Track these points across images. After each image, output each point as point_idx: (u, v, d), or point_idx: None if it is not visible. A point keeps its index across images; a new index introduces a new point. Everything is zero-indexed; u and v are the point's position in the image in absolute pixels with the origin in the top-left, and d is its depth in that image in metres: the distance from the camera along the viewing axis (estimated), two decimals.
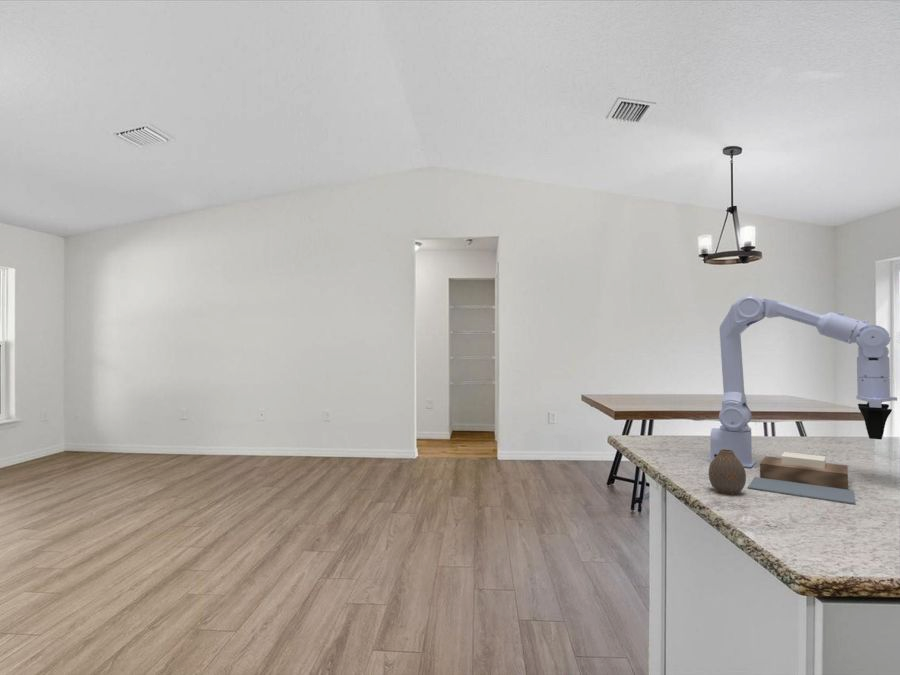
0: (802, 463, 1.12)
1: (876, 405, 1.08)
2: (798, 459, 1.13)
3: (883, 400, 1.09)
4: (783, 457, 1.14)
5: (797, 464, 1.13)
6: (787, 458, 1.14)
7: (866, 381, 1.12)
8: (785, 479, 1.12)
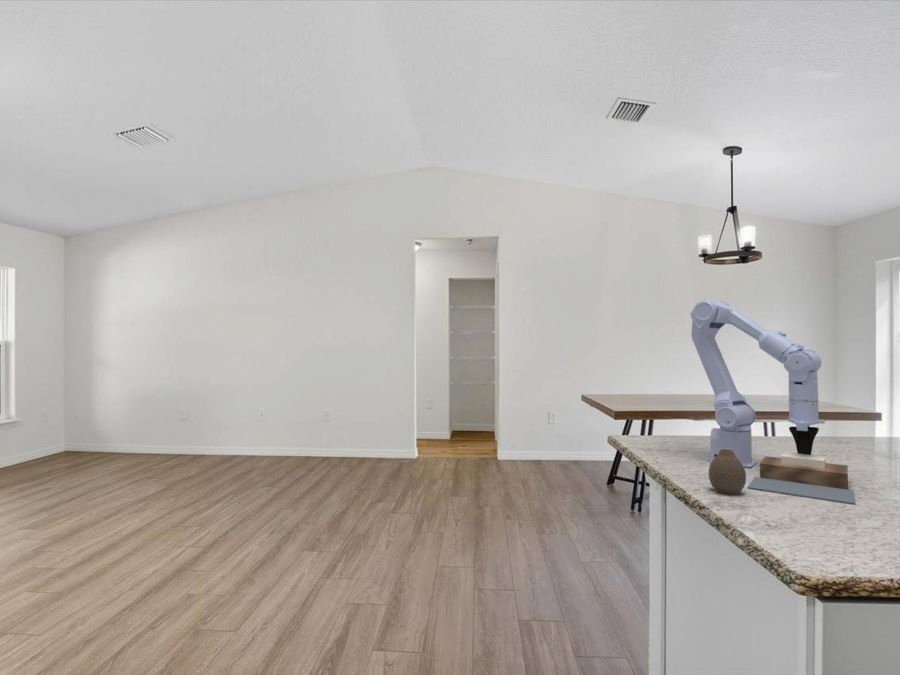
0: (802, 463, 1.12)
1: (803, 428, 1.12)
2: (798, 459, 1.13)
3: (810, 423, 1.13)
4: (783, 457, 1.14)
5: (797, 464, 1.13)
6: (787, 458, 1.14)
7: (796, 404, 1.17)
8: (785, 479, 1.12)
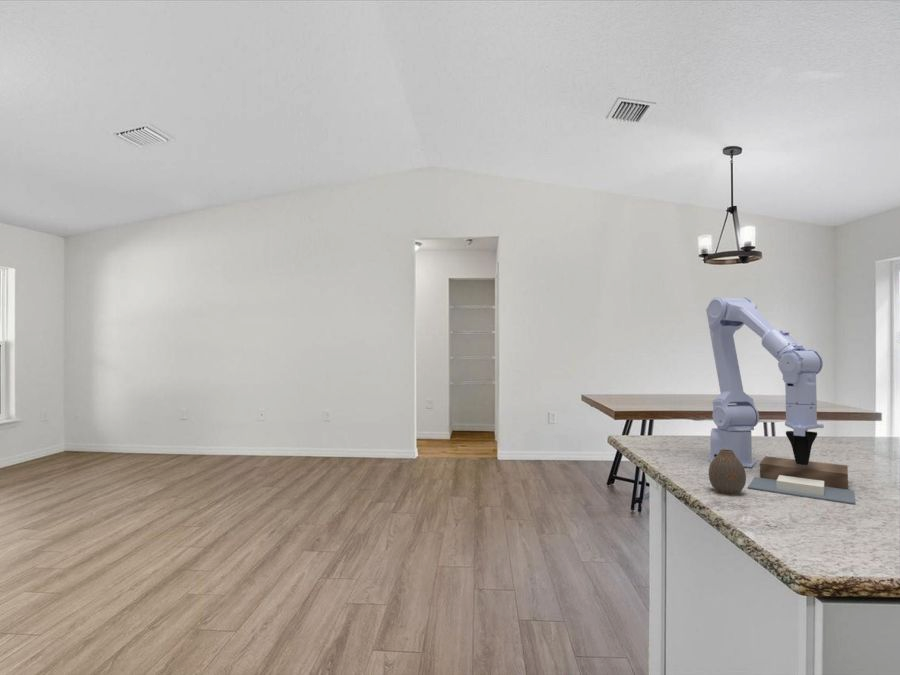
0: None
1: (800, 433, 1.05)
2: None
3: (808, 428, 1.06)
4: None
5: None
6: None
7: (793, 408, 1.10)
8: None
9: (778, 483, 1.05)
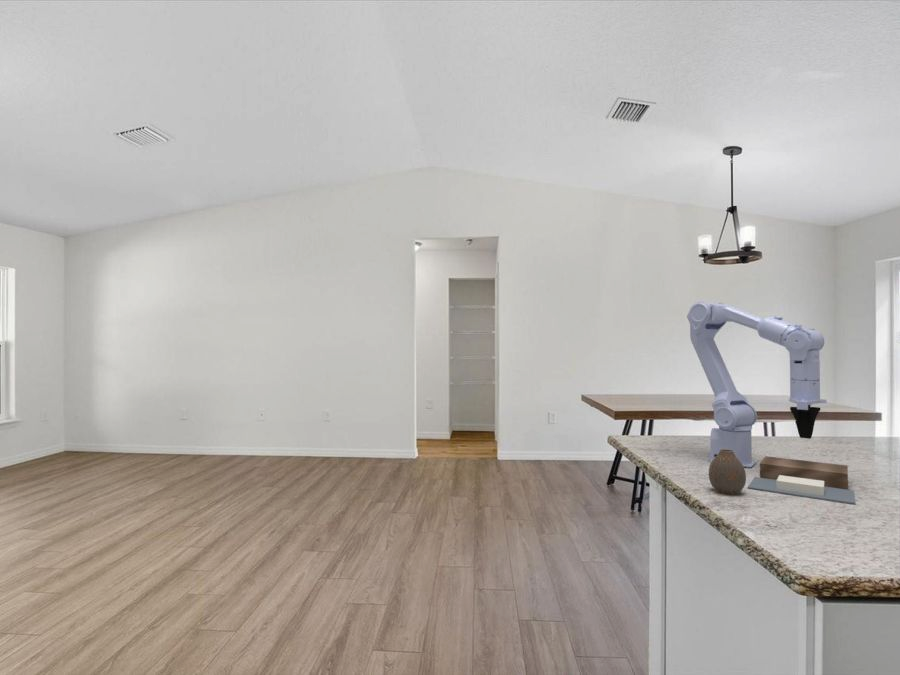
0: None
1: (803, 407, 1.10)
2: None
3: (811, 402, 1.11)
4: None
5: None
6: None
7: (797, 384, 1.15)
8: None
9: (778, 483, 1.05)
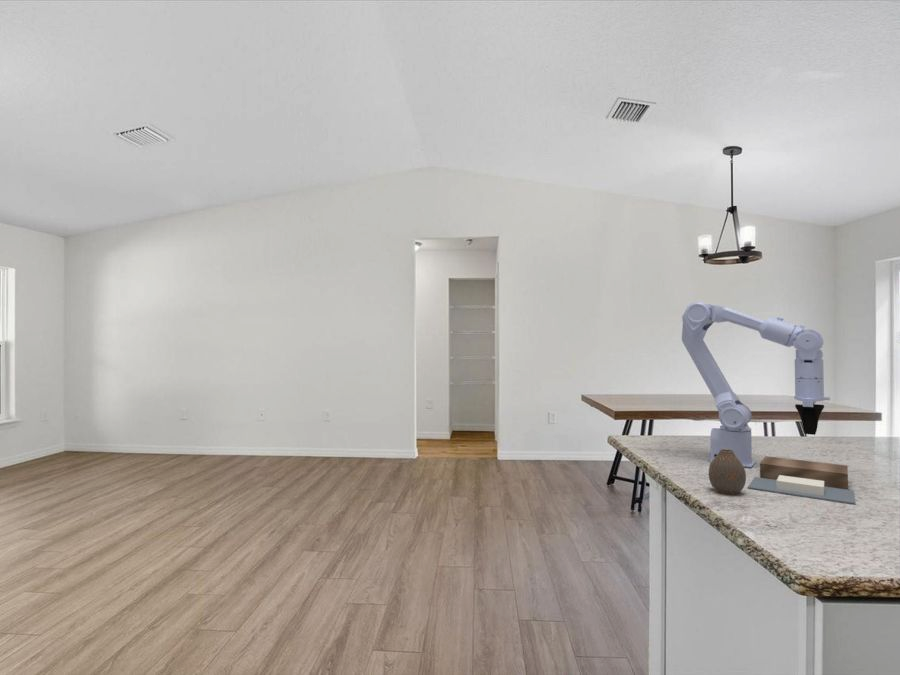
0: None
1: (808, 404, 1.15)
2: None
3: (816, 400, 1.16)
4: None
5: None
6: None
7: (802, 382, 1.20)
8: None
9: (778, 483, 1.05)
